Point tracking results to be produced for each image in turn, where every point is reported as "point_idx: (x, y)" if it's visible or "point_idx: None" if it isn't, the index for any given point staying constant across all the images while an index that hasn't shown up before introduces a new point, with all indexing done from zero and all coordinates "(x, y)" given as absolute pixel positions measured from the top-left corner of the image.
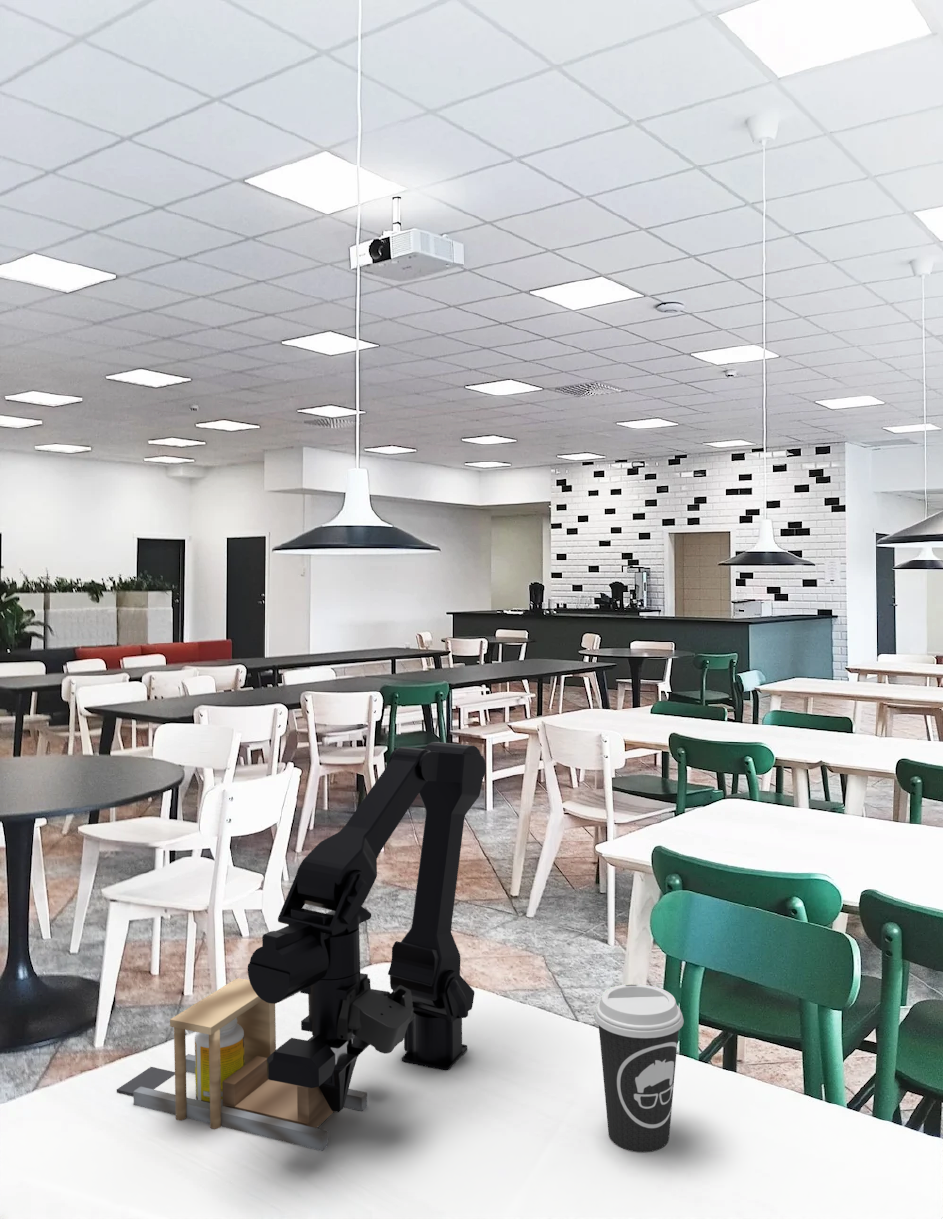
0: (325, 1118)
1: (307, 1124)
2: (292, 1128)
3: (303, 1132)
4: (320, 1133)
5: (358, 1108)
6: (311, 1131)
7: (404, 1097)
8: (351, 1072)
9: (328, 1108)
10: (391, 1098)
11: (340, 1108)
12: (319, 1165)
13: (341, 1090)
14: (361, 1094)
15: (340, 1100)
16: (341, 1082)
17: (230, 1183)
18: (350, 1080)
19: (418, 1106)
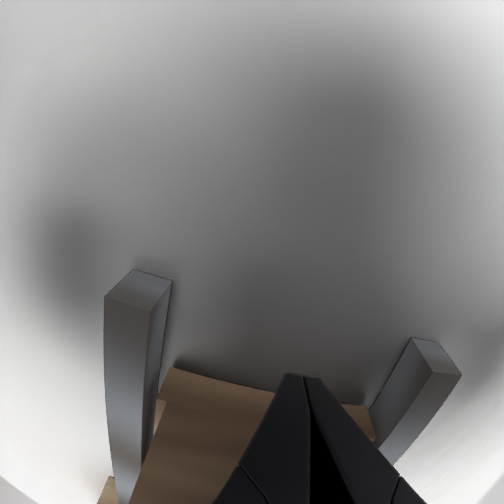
0: (260, 392)
1: (373, 434)
2: (397, 455)
3: (422, 427)
4: (442, 385)
5: (165, 301)
6: (424, 412)
7: (43, 148)
8: (257, 501)
9: (236, 406)
10: (55, 193)
11: (323, 385)
12: (486, 327)
13: (367, 455)
14: (125, 315)
15: (347, 414)
16: (402, 498)
17: (486, 445)
18: (251, 451)
19: (89, 72)
